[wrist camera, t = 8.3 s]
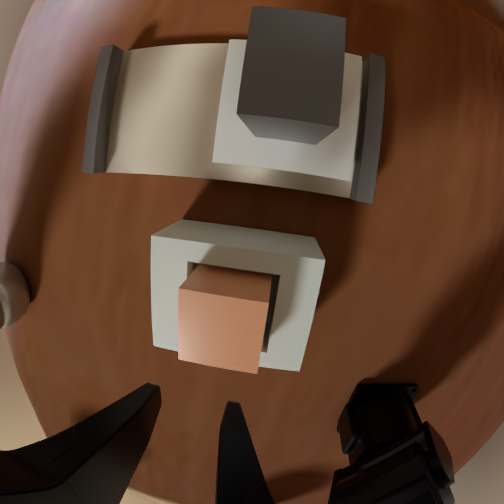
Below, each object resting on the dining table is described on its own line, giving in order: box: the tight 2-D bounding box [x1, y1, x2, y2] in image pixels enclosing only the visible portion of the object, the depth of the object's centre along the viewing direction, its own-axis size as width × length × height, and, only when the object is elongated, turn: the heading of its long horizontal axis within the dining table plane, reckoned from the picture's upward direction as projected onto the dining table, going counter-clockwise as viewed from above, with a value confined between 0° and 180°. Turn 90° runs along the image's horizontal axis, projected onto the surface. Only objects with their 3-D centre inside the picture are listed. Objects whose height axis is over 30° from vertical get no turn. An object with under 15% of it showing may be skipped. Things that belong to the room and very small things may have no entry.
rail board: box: [82, 43, 386, 204], centre depth 16 cm, size 18×9×3 cm, turn 83°
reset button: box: [178, 263, 272, 374], centre depth 15 cm, size 4×4×4 cm
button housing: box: [151, 219, 326, 371], centre depth 18 cm, size 9×7×5 cm
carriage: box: [212, 6, 362, 181], centre depth 11 cm, size 7×7×8 cm
